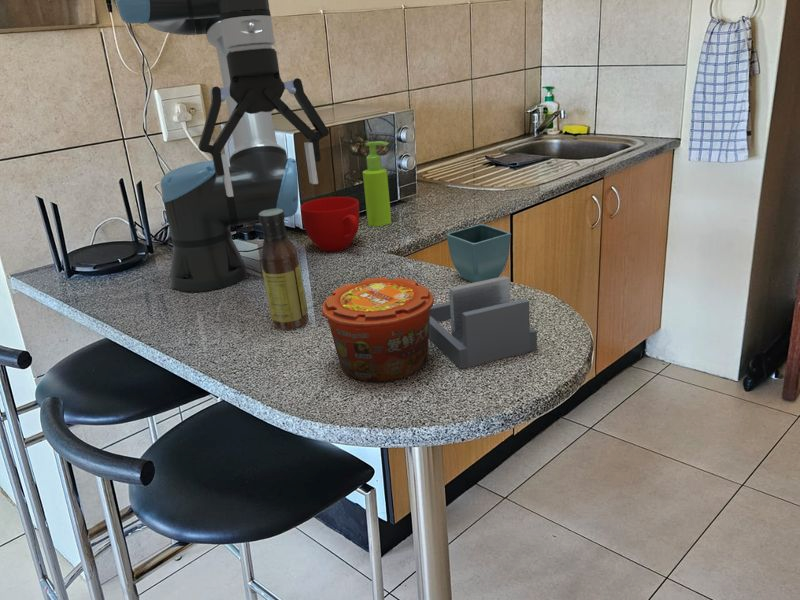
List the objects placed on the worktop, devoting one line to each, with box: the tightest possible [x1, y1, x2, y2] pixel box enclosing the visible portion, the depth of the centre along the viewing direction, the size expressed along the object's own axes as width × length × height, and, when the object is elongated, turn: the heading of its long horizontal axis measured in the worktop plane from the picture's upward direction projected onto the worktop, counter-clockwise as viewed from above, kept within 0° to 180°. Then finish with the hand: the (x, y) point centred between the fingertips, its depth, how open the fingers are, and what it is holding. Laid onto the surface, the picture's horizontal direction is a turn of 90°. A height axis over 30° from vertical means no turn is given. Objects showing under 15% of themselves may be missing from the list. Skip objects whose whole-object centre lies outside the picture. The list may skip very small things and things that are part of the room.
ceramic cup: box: [300, 196, 360, 252], centre depth 153 cm, size 13×17×10 cm
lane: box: [429, 298, 538, 370], centre depth 106 cm, size 18×12×8 cm
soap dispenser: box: [362, 140, 392, 227], centre depth 168 cm, size 6×7×20 cm
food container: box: [321, 276, 435, 384], centre depth 100 cm, size 16×16×11 cm
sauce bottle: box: [259, 209, 309, 330], centre depth 114 cm, size 7×6×20 cm
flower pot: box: [445, 223, 512, 283], centre depth 129 cm, size 9×9×9 cm
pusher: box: [448, 275, 511, 344], centre depth 103 cm, size 1×9×10 cm, turn 111°
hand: (272, 189), depth 111 cm, fingers open, 13 cm apart
